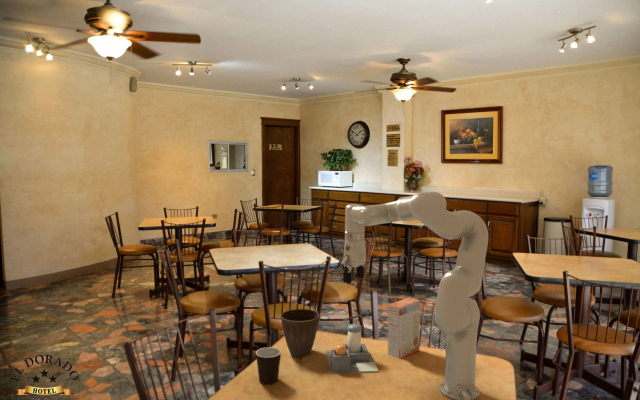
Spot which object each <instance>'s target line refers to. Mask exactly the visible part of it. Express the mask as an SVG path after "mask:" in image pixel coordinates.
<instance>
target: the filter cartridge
mask: <svg viewBox="0 0 640 400" xmlns="http://www.w3.org/2000/svg"><path fill="white" fill-rule="evenodd" d="M361 341H362V325H361V324H358V323H351V324H348V325H347V344H348V351H349V353H361V344H362V343H361Z"/></svg>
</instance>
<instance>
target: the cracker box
mask: <svg viewBox="0 0 640 400" xmlns="http://www.w3.org/2000/svg"><path fill="white" fill-rule="evenodd" d="M387 307H388V308H387V355H389V356H392V357H394V358H397V359H400V358H403V357H408V356H410V355H412V354H414V353H416V352H418V351H420V328H421V327H420V322H421V321H420V317H421V315H420V314H421V312H420V311H421V309H420V308H421V301H420V299H416V298H412V297H406V298H403V299H401V300H398V301H395V302H393V303H389V304H387Z"/></svg>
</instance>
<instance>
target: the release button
mask: <svg viewBox="0 0 640 400" xmlns="http://www.w3.org/2000/svg"><path fill="white" fill-rule="evenodd" d="M343 344H344V343H343ZM343 344H342V343H340V344H336V345H335V350H336V356H339V355H346V346H345V345H343Z"/></svg>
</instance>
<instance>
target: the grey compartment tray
mask: <svg viewBox="0 0 640 400" xmlns="http://www.w3.org/2000/svg"><path fill="white" fill-rule="evenodd" d="M343 345H345V346H346V355H339V356H336V349H331V350H327V351H326V350H325V356H326V360H327V363H328V367H329V371H330V374H331V375H349V374H355V375H356V374H373V373H374V374H375V373H377V374H378V373H379V371H378V372H361V373H359V371H358V369H357V366H356V363H364V362H374V360H373V358H372V356H371V354H370V352H369V350H368V348H367V345H366V344H365V343H361V353H349V351H348V343H347V344H344V343H343Z"/></svg>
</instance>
